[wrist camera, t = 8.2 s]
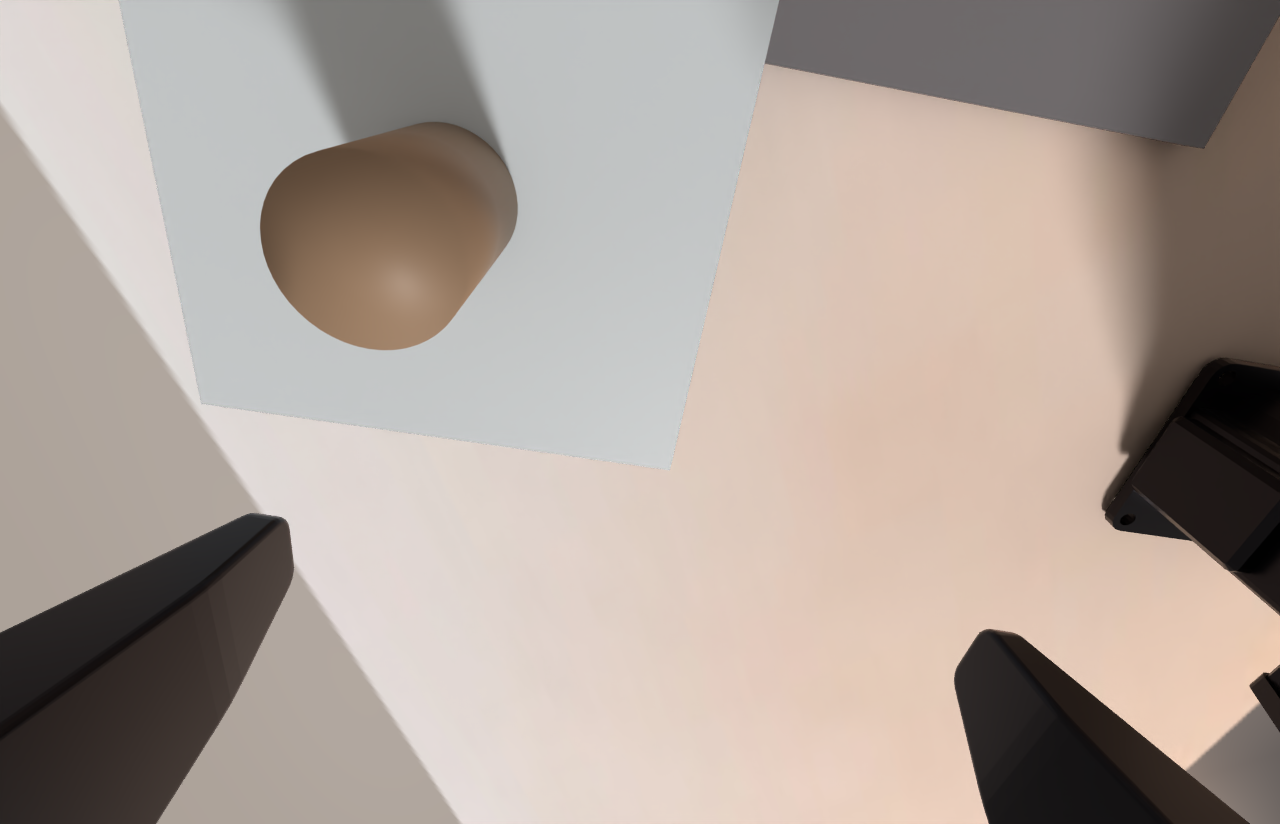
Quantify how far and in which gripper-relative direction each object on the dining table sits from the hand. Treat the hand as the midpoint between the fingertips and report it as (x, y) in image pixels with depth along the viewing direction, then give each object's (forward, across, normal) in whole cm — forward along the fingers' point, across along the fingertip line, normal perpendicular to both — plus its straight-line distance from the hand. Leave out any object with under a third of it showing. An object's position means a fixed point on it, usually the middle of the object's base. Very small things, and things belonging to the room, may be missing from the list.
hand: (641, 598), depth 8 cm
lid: (+7, +5, -3) cm, 9 cm away
